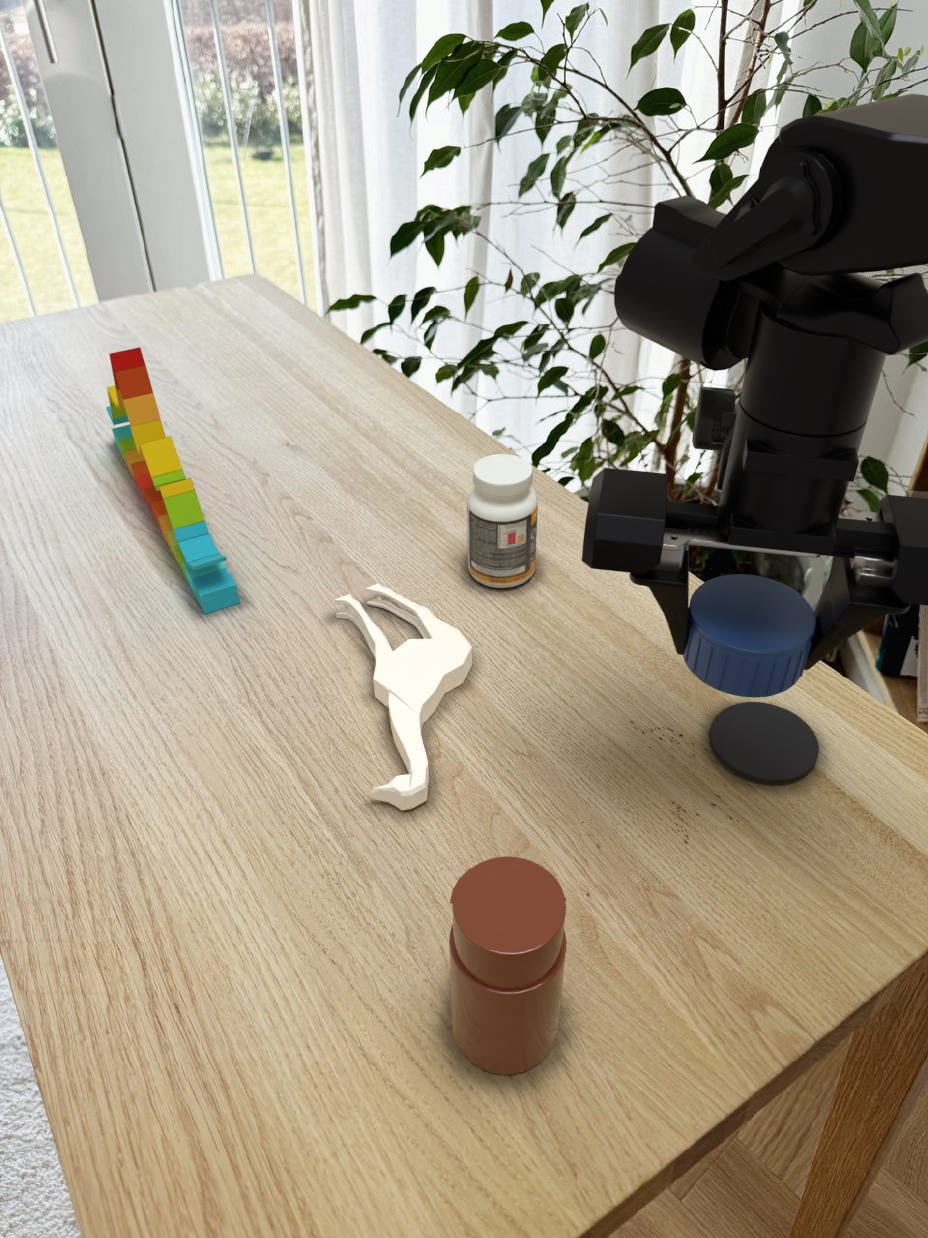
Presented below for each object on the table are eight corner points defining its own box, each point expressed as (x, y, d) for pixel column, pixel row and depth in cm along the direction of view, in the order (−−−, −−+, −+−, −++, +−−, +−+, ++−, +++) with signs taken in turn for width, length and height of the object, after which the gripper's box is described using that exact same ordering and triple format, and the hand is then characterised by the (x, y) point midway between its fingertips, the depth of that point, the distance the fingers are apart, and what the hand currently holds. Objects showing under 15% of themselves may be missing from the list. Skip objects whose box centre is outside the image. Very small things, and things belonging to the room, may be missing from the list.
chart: (243, 602, 79) (210, 438, 69) (204, 614, 78) (165, 449, 68) (147, 438, 99) (112, 294, 90) (116, 445, 98) (77, 301, 89)
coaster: (813, 715, 69) (815, 709, 68) (821, 793, 63) (823, 787, 63) (709, 701, 70) (710, 695, 69) (708, 776, 64) (709, 770, 64)
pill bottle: (546, 581, 81) (552, 478, 74) (482, 597, 79) (483, 494, 73) (518, 544, 85) (522, 444, 78) (457, 559, 83) (455, 458, 77)
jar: (563, 984, 53) (577, 862, 46) (550, 1085, 49) (562, 969, 42) (463, 965, 54) (461, 844, 47) (441, 1063, 50) (436, 946, 43)
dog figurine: (252, 631, 73) (384, 805, 60) (401, 573, 79) (551, 721, 66) (256, 649, 74) (385, 824, 61) (402, 591, 80) (549, 740, 67)
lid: (719, 602, 58) (728, 558, 56) (825, 652, 55) (839, 607, 53) (657, 660, 54) (664, 615, 52) (766, 717, 51) (779, 671, 49)
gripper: (981, 347, 49) (894, 588, 59) (612, 320, 52) (589, 555, 62) (1037, 459, 41) (925, 718, 51) (593, 420, 44) (570, 673, 54)
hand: (742, 657), depth 55 cm, fingers closed on lid, 6 cm apart
